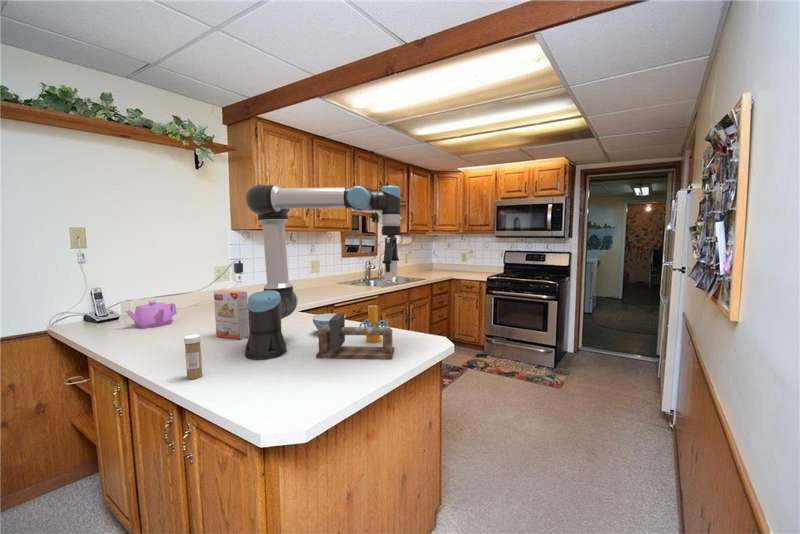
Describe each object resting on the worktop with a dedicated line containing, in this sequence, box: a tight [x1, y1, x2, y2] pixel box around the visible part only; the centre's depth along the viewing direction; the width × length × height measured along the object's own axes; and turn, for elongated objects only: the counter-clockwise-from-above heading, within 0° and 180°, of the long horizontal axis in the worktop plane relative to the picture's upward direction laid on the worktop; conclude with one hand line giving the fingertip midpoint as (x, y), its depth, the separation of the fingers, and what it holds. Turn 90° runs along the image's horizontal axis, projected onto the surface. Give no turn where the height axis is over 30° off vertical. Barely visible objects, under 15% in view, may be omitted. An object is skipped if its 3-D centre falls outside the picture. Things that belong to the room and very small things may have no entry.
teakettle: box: [125, 300, 177, 330], centre depth 185 cm, size 17×17×12 cm
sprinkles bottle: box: [183, 334, 203, 380], centre depth 115 cm, size 5×5×14 cm
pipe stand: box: [315, 326, 395, 360], centre depth 136 cm, size 28×10×11 cm, turn 86°
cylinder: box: [358, 304, 388, 343], centre depth 154 cm, size 12×10×15 cm
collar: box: [329, 313, 346, 350], centre depth 136 cm, size 3×11×11 cm, turn 176°
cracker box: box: [213, 289, 249, 341], centre depth 161 cm, size 14×6×21 cm, turn 68°
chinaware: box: [312, 313, 347, 332], centre depth 166 cm, size 15×15×8 cm
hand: (391, 278), depth 146 cm, fingers open, 13 cm apart
